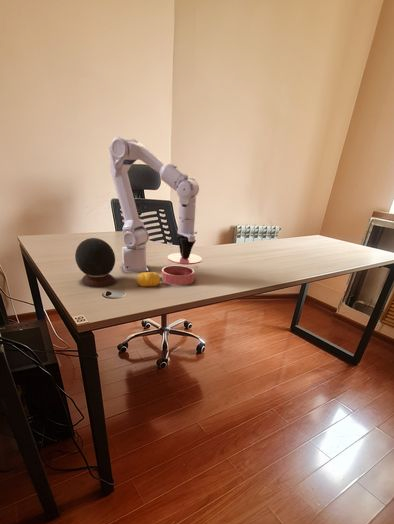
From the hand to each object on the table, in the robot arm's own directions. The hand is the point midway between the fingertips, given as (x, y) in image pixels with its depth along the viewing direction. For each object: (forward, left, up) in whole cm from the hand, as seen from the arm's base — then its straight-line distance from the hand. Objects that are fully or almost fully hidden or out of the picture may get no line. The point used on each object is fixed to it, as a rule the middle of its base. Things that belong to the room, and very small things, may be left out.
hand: (184, 257), depth 114 cm
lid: (0, 0, -1) cm, 1 cm away
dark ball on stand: (-32, +1, -9) cm, 33 cm away
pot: (-3, -2, -8) cm, 9 cm away
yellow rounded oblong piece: (-15, -6, -8) cm, 18 cm away
